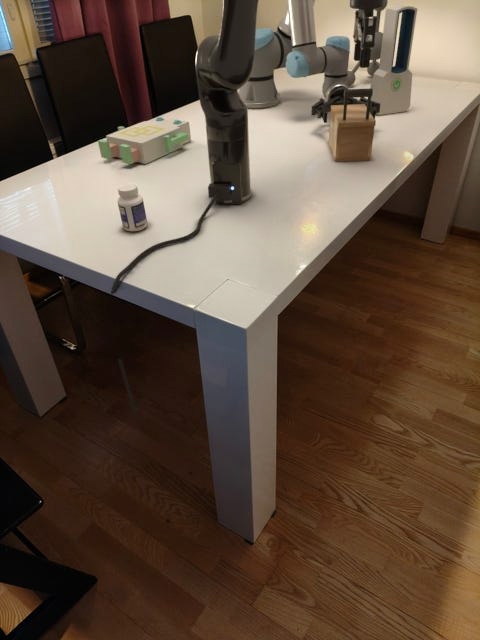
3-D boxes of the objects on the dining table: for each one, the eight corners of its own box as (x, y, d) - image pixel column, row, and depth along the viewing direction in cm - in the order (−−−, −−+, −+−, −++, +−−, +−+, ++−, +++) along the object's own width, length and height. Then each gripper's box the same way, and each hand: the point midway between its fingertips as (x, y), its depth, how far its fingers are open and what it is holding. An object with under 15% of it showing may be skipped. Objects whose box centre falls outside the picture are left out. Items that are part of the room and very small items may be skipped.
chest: (370, 160, 130) (374, 125, 124) (335, 161, 130) (337, 126, 125) (360, 141, 142) (364, 108, 136) (328, 142, 142) (330, 109, 137)
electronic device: (375, 115, 160) (388, 8, 142) (365, 110, 166) (376, 6, 148) (409, 111, 163) (426, 4, 144) (398, 105, 168) (413, 2, 150)
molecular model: (328, 81, 202) (333, -6, 184) (375, 74, 207) (385, -11, 188) (355, 93, 184) (363, -1, 166) (406, 86, 189) (420, -7, 170)
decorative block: (150, 112, 153) (199, 120, 143) (154, 133, 157) (201, 142, 147) (87, 135, 137) (137, 147, 127) (92, 158, 141) (141, 171, 131)
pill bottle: (149, 220, 107) (142, 181, 102) (146, 231, 103) (138, 191, 98) (125, 221, 107) (116, 182, 102) (121, 232, 103) (112, 193, 98)
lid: (375, 125, 123) (379, 90, 118) (338, 127, 124) (340, 92, 119) (364, 108, 136) (367, 75, 131) (330, 109, 137) (332, 77, 132)
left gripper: (393, -17, 101) (382, 69, 111) (379, -21, 112) (371, 57, 122) (356, -15, 102) (349, 71, 111) (346, -20, 113) (341, 59, 123)
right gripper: (377, 108, 157) (392, 128, 140) (299, 112, 158) (305, 132, 141) (380, 83, 152) (396, 100, 136) (300, 87, 153) (306, 105, 137)
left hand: (361, 63), depth 117 cm, fingers open, 8 cm apart
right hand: (349, 117), depth 138 cm, fingers open, 13 cm apart
